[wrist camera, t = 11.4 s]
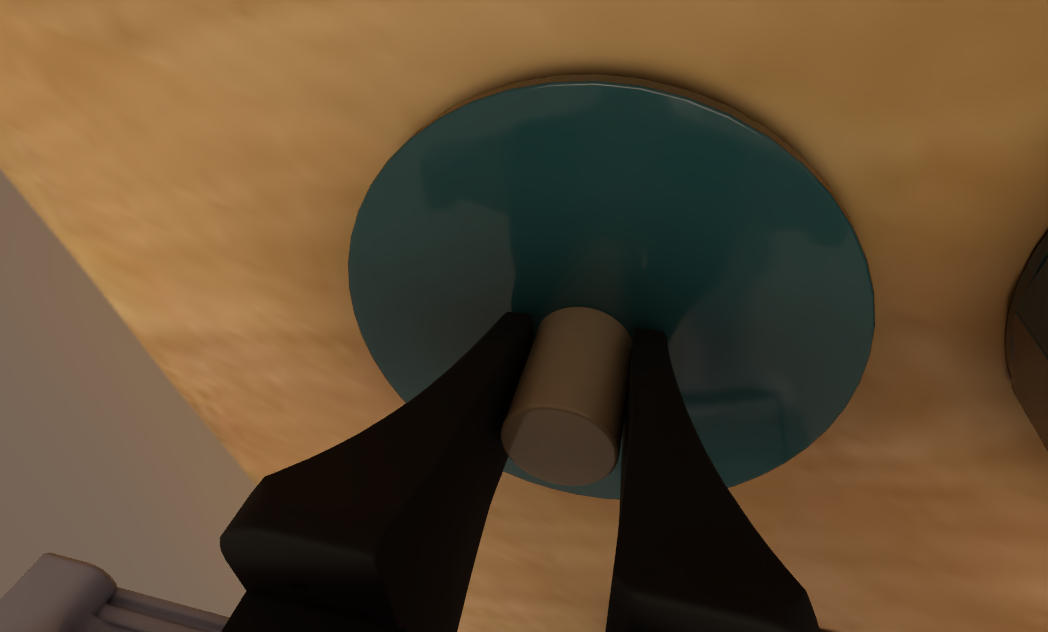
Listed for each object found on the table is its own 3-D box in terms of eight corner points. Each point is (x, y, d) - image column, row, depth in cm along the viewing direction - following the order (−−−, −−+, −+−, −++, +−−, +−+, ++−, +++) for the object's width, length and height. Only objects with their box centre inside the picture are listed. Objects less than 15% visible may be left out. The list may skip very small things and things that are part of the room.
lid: (785, 503, 17) (804, 655, 14) (406, 434, 20) (346, 548, 16) (968, 76, 10) (1106, 189, 6) (315, 54, 12) (171, 125, 9)
